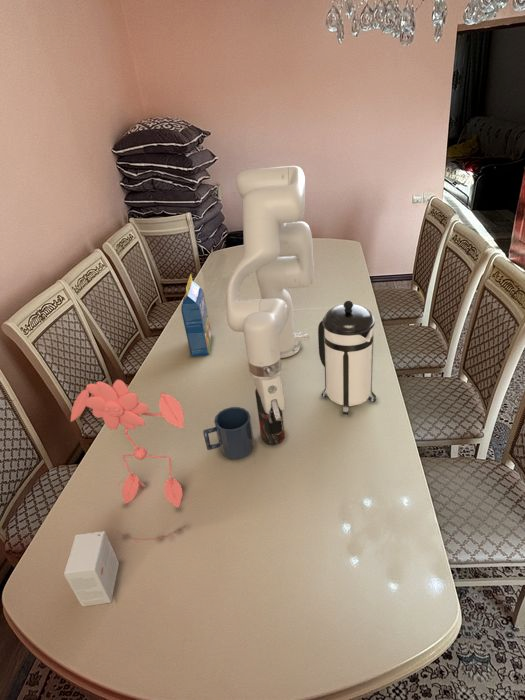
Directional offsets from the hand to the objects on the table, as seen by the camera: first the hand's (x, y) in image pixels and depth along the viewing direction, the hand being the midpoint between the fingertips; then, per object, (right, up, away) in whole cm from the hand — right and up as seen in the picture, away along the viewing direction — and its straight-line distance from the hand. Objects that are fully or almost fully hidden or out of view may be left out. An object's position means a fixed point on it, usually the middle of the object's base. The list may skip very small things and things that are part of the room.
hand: (271, 423), depth 113 cm
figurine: (-27, -17, -14) cm, 35 cm away
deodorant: (0, -4, +3) cm, 5 cm away
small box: (-33, -26, -27) cm, 50 cm away
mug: (-10, -6, 0) cm, 12 cm away
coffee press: (+21, +5, +14) cm, 25 cm away
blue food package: (-23, +19, +45) cm, 54 cm away
